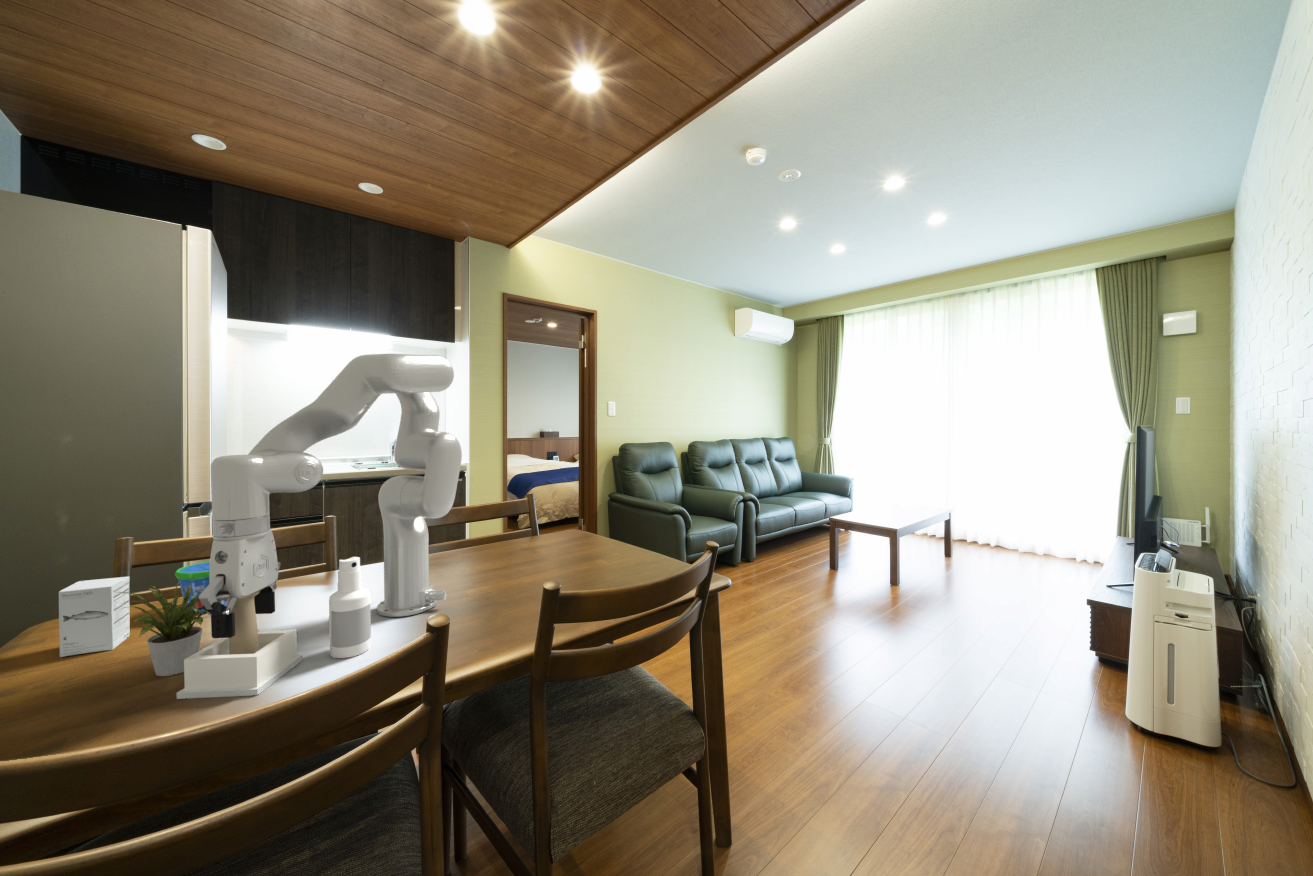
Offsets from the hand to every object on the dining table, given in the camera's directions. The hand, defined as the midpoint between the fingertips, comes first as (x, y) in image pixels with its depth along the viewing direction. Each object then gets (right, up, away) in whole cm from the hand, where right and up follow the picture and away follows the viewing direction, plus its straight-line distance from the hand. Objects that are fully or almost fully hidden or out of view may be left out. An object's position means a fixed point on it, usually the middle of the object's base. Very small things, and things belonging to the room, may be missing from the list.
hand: (245, 624), depth 85 cm
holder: (0, -9, 0) cm, 9 cm away
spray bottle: (+12, -9, +10) cm, 18 cm away
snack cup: (-34, -8, +31) cm, 47 cm away
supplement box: (-38, -9, +11) cm, 41 cm away
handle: (0, -8, 0) cm, 8 cm away
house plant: (-16, -9, +2) cm, 18 cm away
